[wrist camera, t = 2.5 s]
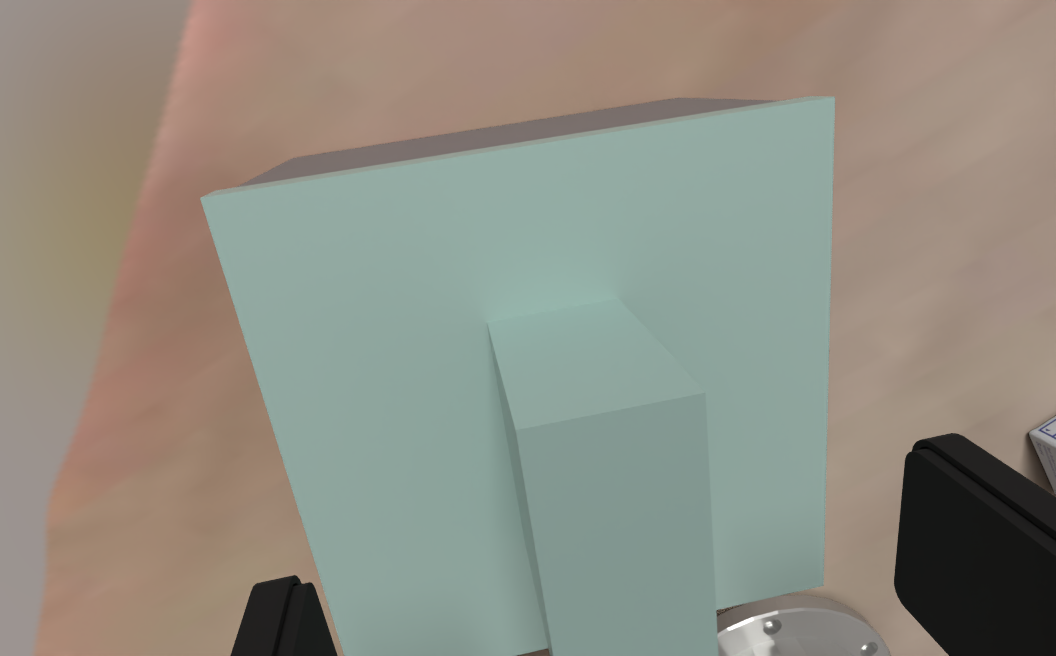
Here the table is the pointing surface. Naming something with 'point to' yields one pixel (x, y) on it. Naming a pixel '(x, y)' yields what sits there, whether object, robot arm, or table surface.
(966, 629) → the robot arm
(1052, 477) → the medicine box
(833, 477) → the table surface
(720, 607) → the lid
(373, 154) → the parts tub
